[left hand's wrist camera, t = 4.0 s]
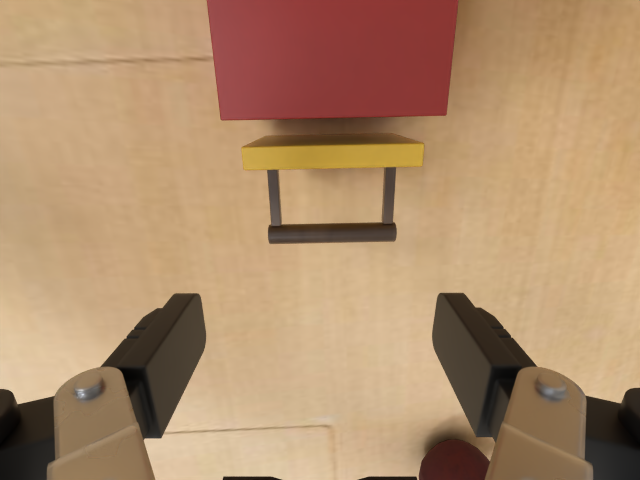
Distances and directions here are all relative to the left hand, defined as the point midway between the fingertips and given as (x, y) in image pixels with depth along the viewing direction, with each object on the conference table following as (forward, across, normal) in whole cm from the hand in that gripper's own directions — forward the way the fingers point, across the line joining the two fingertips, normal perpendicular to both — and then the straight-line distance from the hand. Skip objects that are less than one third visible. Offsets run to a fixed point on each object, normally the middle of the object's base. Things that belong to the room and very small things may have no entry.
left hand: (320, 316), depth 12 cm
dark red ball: (+17, +14, -28) cm, 36 cm away
